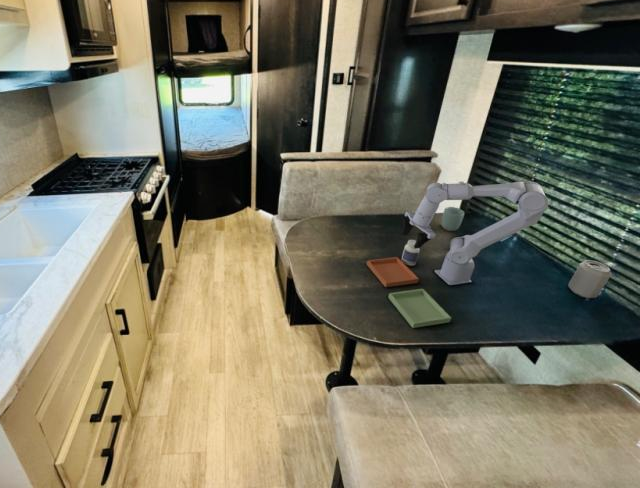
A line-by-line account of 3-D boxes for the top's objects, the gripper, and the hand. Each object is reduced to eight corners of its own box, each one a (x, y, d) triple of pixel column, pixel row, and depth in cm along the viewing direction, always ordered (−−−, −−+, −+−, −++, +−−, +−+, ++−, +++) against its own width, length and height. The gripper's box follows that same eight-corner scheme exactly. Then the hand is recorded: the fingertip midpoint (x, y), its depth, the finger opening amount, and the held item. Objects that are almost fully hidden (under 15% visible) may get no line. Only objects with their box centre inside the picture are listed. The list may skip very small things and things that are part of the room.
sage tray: (421, 292, 112) (423, 288, 111) (449, 322, 100) (451, 317, 100) (388, 297, 110) (389, 293, 109) (412, 328, 99) (414, 323, 98)
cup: (436, 224, 154) (441, 206, 149) (453, 224, 153) (459, 207, 149) (444, 232, 147) (450, 214, 142) (461, 233, 146) (468, 215, 142)
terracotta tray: (396, 260, 129) (397, 256, 128) (417, 282, 117) (418, 278, 116) (366, 264, 127) (367, 260, 126) (385, 287, 115) (386, 283, 114)
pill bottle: (417, 267, 125) (423, 247, 121) (403, 265, 126) (408, 245, 122) (413, 258, 130) (419, 239, 126) (399, 257, 131) (404, 237, 127)
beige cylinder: (588, 287, 114) (604, 260, 109) (601, 301, 108) (619, 274, 102) (562, 282, 116) (577, 256, 111) (574, 296, 110) (590, 269, 105)
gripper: (404, 202, 121) (391, 229, 128) (429, 225, 109) (413, 254, 116) (419, 202, 123) (406, 229, 130) (446, 225, 111) (429, 253, 118)
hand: (410, 241), depth 123 cm, fingers open, 7 cm apart
